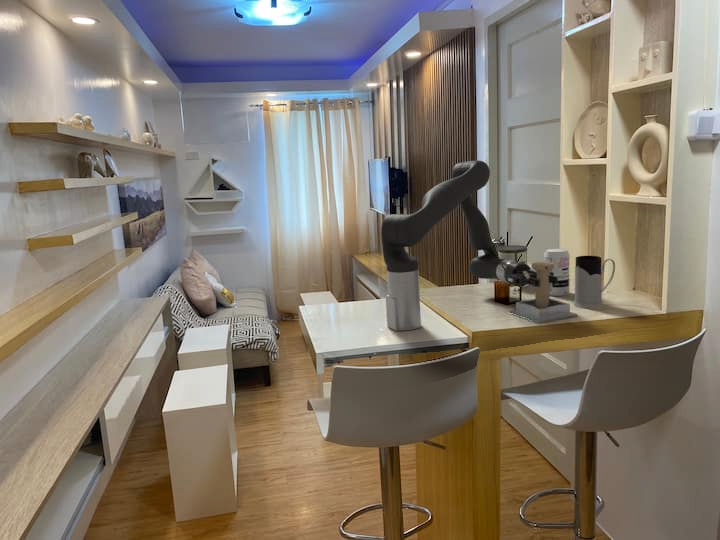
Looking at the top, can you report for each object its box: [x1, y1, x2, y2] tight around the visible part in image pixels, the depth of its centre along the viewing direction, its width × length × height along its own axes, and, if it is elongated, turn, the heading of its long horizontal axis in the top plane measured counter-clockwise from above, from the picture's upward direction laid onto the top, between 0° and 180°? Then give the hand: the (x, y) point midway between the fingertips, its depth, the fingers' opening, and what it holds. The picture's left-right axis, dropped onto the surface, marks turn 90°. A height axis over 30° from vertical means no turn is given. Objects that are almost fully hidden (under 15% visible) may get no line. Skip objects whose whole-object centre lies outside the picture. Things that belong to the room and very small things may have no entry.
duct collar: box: [508, 297, 578, 325], centre depth 180 cm, size 14×14×4 cm
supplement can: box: [543, 248, 571, 297], centre depth 203 cm, size 8×8×15 cm
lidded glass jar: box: [497, 244, 528, 289], centre depth 219 cm, size 10×10×14 cm
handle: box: [531, 261, 554, 308], centre depth 179 cm, size 5×6×15 cm
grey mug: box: [572, 255, 616, 309], centre depth 188 cm, size 9×14×15 cm, turn 108°
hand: (547, 282), depth 176 cm, fingers open, 6 cm apart
